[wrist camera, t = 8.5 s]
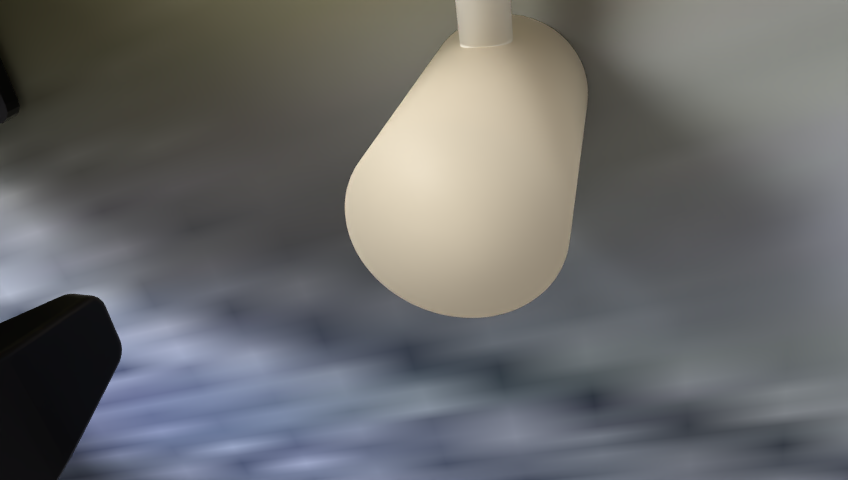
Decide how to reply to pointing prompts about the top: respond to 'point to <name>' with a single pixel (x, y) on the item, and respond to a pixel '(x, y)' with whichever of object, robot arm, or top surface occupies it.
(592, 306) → the top surface
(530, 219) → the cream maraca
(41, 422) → the robot arm
